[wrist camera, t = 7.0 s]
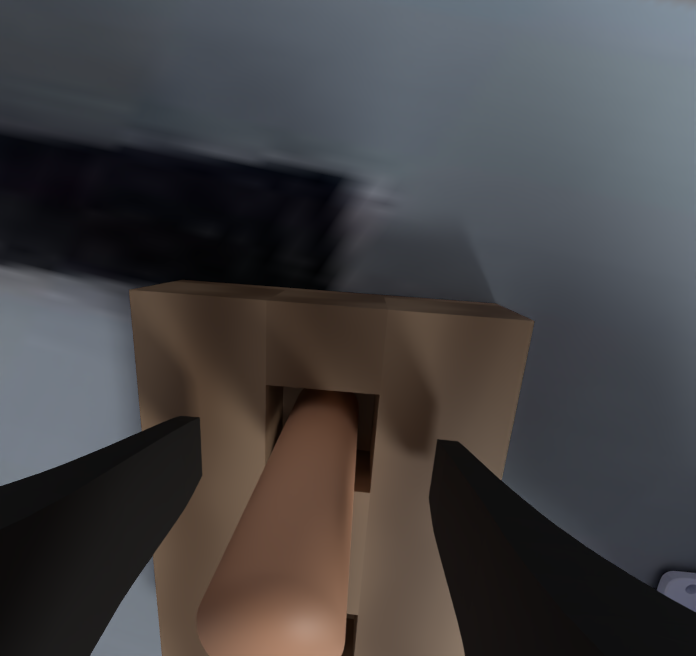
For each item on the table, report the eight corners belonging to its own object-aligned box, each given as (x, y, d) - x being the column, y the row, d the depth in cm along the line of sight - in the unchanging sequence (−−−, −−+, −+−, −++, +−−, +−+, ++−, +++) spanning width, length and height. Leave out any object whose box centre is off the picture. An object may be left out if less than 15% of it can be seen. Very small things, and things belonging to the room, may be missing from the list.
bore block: (496, 303, 13) (534, 321, 10) (433, 656, 17) (447, 741, 14) (182, 280, 13) (128, 289, 10) (200, 629, 17) (166, 706, 15)
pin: (361, 382, 13) (351, 582, 5) (355, 440, 14) (338, 696, 6) (297, 375, 13) (194, 563, 5) (294, 433, 14) (197, 677, 6)
